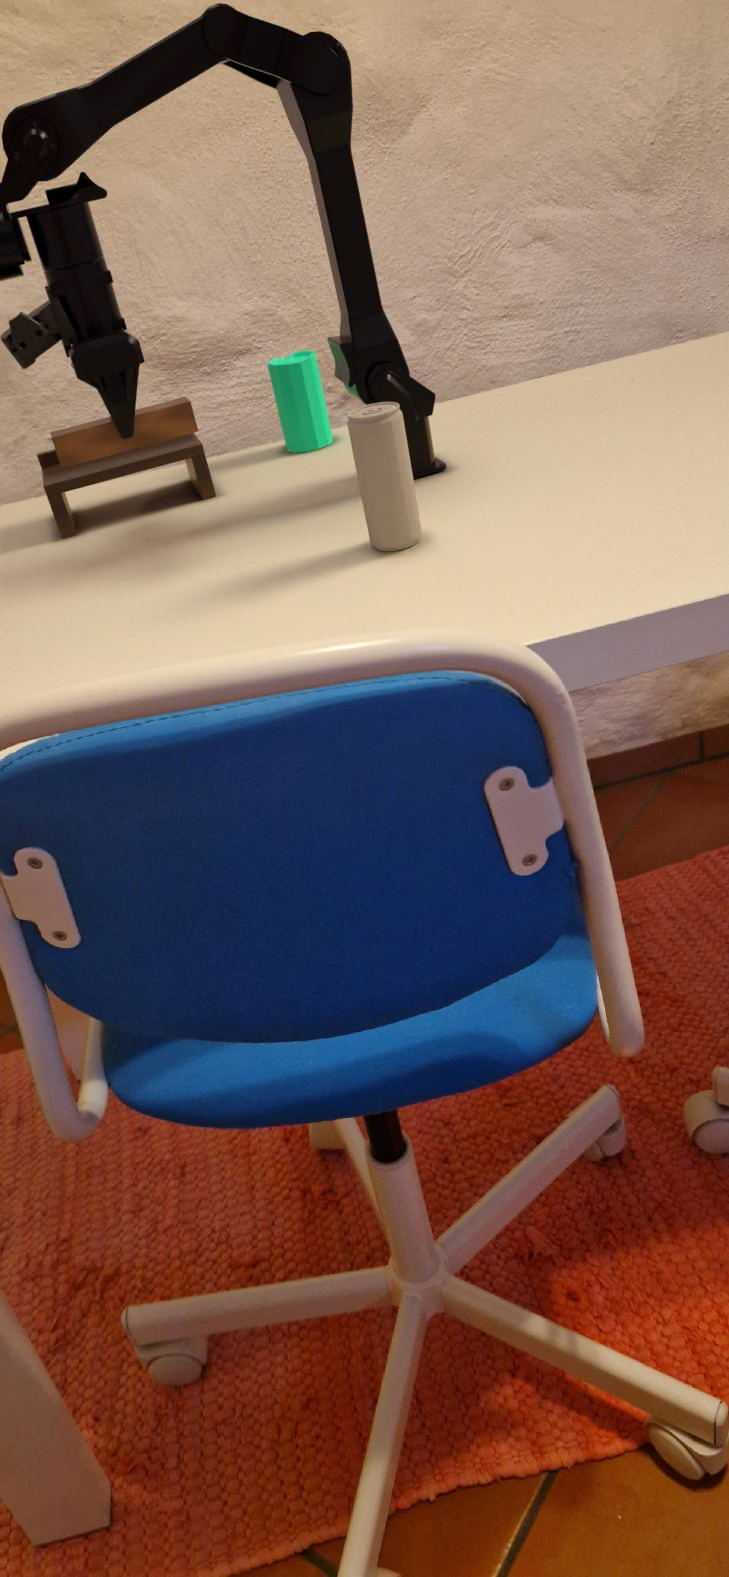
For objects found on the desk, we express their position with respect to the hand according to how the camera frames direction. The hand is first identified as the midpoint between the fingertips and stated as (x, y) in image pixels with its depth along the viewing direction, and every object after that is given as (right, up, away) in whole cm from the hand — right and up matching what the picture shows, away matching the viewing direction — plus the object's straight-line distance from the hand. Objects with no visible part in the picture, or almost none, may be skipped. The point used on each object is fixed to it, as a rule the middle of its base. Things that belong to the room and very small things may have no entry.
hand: (126, 434), depth 106 cm
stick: (0, -1, +1) cm, 1 cm away
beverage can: (+27, -13, -9) cm, 31 cm away
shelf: (-3, -2, +18) cm, 19 cm away
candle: (+17, +7, +27) cm, 32 cm away
